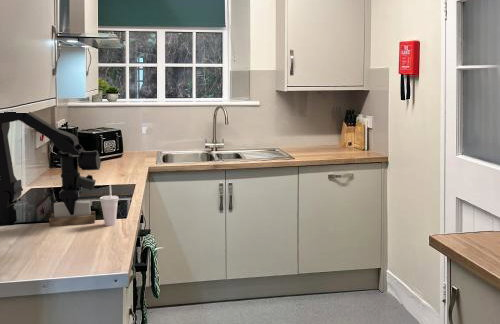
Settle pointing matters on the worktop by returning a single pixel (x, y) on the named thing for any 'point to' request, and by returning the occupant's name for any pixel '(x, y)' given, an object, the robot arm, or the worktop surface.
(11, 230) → the worktop surface
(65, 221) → the wooden block
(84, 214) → the clay strip
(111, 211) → the smoothie
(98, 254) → the worktop surface
